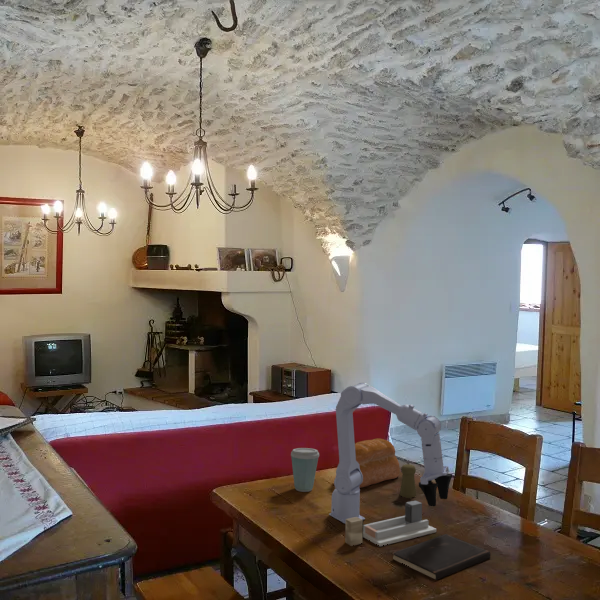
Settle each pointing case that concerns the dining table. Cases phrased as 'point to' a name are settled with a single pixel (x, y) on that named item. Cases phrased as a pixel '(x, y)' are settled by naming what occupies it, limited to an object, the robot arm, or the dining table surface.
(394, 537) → the rail
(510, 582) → the dining table surface
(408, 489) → the cork
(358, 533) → the block
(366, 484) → the bread
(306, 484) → the disposable coffee cup
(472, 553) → the hardcover book
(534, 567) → the dining table surface
